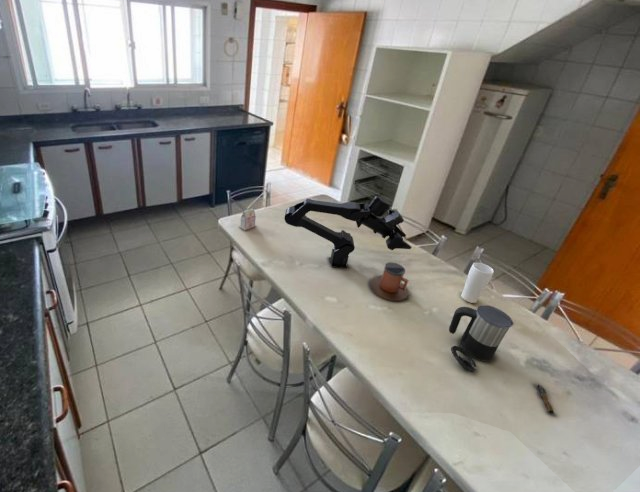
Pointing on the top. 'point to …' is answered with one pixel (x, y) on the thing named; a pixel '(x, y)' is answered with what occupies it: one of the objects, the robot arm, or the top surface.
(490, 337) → the milk frother
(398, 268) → the orange mug
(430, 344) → the top surface
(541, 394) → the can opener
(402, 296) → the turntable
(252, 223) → the milk carton
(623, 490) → the top surface
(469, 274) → the drinking glass
